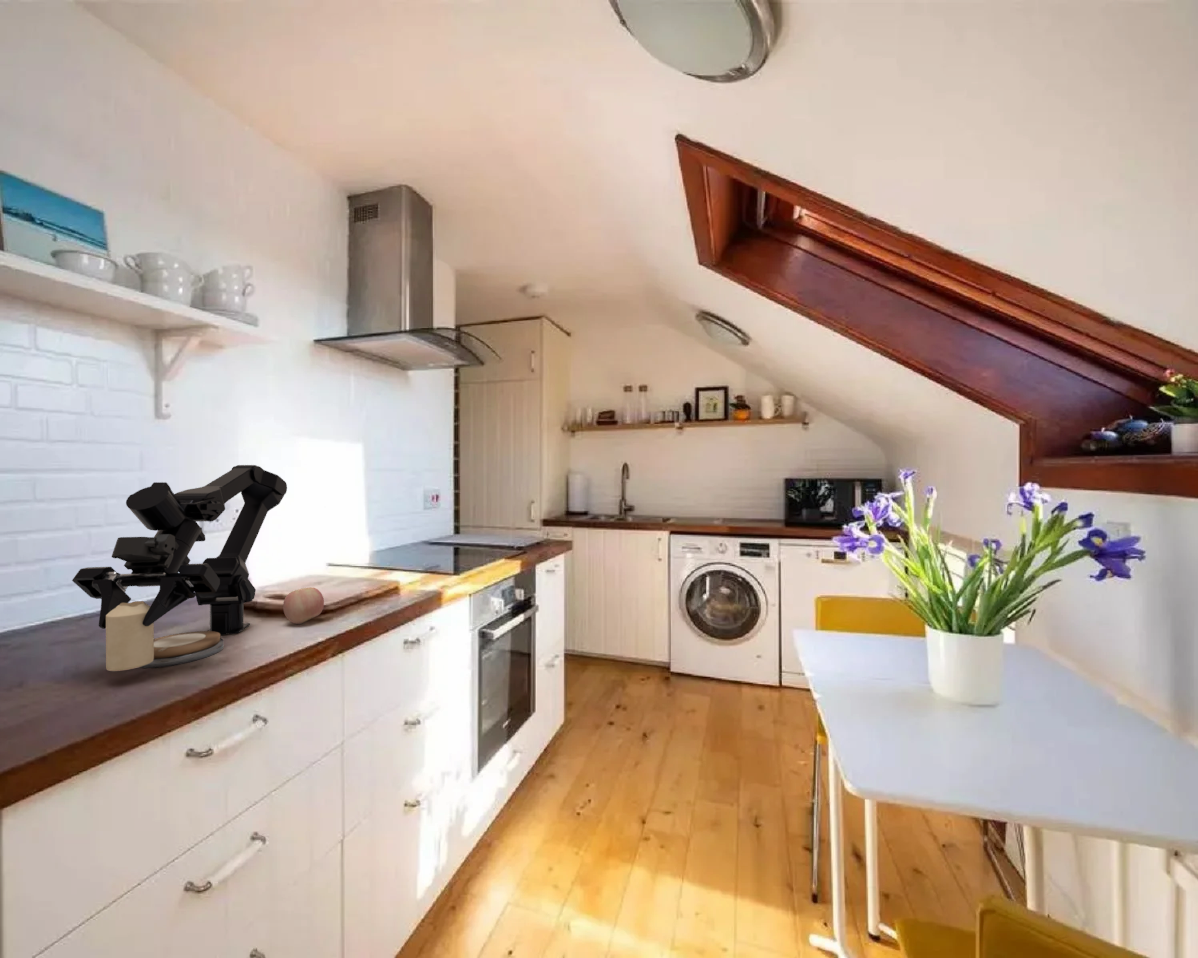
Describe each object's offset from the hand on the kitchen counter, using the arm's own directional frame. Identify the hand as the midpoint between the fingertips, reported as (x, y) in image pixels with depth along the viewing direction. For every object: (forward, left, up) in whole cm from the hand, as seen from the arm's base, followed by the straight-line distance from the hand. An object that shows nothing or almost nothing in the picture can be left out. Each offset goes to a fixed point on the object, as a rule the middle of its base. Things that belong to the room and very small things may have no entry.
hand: (123, 626), depth 76 cm
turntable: (-13, +1, -8) cm, 15 cm away
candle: (-1, 0, -7) cm, 7 cm away
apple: (-29, +17, -9) cm, 35 cm away
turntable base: (-13, +1, -9) cm, 16 cm away
